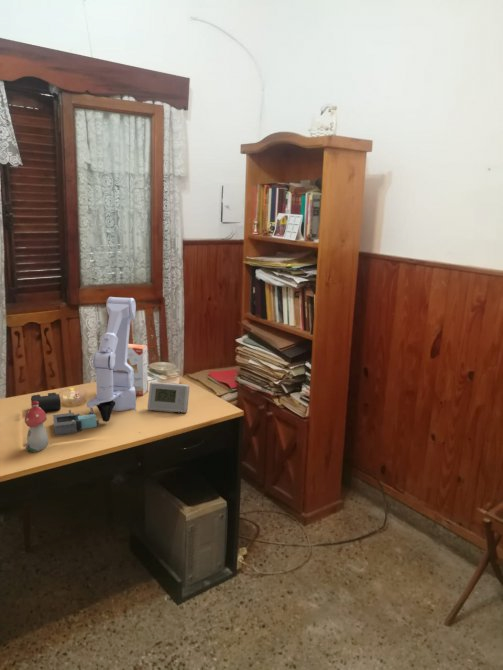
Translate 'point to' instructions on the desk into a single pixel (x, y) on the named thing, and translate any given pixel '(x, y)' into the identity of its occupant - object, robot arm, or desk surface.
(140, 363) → the cracker box
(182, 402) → the digital clock
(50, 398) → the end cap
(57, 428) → the port block
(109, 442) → the desk surface
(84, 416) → the teal rectangular block
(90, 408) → the holster
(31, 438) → the decorative ornament
